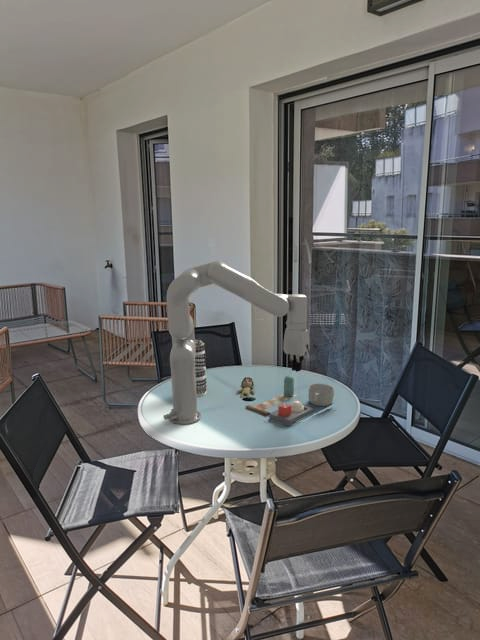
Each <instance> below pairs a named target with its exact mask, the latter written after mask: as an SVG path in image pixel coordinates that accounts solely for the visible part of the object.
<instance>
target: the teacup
mask: <svg viewBox="0 0 480 640" xmlns="http://www.w3.org/2000/svg"><path fill="white" fill-rule="evenodd" d="M334 396H335V388H334V386H332V385H329V384H326V383H311V384H309V385H308V401H309V402H310V404H312V405H315V406H316V407H317V406H318V407H327V406H330V405H331V404H332V403H333V400H334Z"/></svg>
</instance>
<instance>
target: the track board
mask: <svg viewBox="0 0 480 640" xmlns="http://www.w3.org/2000/svg"><path fill="white" fill-rule="evenodd" d="M296 396H298V394H294V396H293V397H286V396H284V393H283V394H281V395H279V396H275V397H273V398H271V399H268V400H266V401H264V402H262V403H259V404H257V405H253V406H252V405H250V404H247V405H245V409H248V410H250V411H253V412H255V413H258V414H260V415H264V416H269V413H271V412H270V411H266V410H268V409H270V408H271V407H274V406H276V405H278V404H279V405H280V403H283V402H285V401H287V400H289V399H292V398H294V397H296Z"/></svg>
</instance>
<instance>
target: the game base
mask: <svg viewBox="0 0 480 640" xmlns="http://www.w3.org/2000/svg"><path fill="white" fill-rule="evenodd" d="M290 404H291V403H289V404H287V403H282V404H281V403H280V404H279V405H278V406H277V407H278V409H277V410H274V411H272V412H270V413H269V415H268V416H269V420H271V421H272V422H276V423H279V424H280V425H284V426H286V427H291V426H293V425H296V424H297V423H298V422H301V421H303V420H305V419H307V418H309V417H311V416H313V415H314V411H315V410H314V407H310V406H307V405H304V404H302V405H303V406H304V411H302V412H300V413H295V412H292V411H291V405H290ZM297 420H298V421H297Z"/></svg>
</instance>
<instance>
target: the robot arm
mask: <svg viewBox="0 0 480 640" xmlns="http://www.w3.org/2000/svg"><path fill="white" fill-rule="evenodd" d="M213 284H214V285H215V286H217V287H219V288H222V289H223V290H225V291H226V292H229V293H231V294H233V295H235V296H237V297H239V298H241V299H242V300H244V301H246V302H248V303H249V304H250V305H253V306H255V307H256V308H259V309H260V310H263V311H264V312H266V313H268V314H270V315H272V316H275V317H280V318H281V317H284V316H286V315H287V320H286V321H285V324H286V326H287V327H286V328H285V331H284V337H283V352H284V354H285V355H287V356H288V357H289V359H290V362H291V371H295V372H297V373H299V372H300V371H302V369H303V367H302V365H303V364H302V363H303V361H304V360H306V359H309V358H310V335H309V334H310V333H309V330H308V328H307V326H308V323H307V322H308V321H307V320H308V297H307V295H305V294H302V293H301V294H300V293H292V294H284V293H274V292H272V291H270V290H268V289H266V288H265V287H263V286H262V285H260V283H258V282H257V281H256V280H254V279H253V278H252V277H250V276H248V275H246V274H244V273H242V272H240V271H238V270H236V269H234V268H232V267H230V266H228V265H227V264H226V263H225V262H223V261H221V260H216V261H212V262H209V263H206V264H202V265H198V266H194V267H190V268H187V269H185V270H184V271H182V273H181V274H179V275H178V276H177V277H176V278H174V279H173V280H172V281H171V283H170V284H169V286H168V289H167V291H166V308H167V309H166V313H167V323H168V325H167V326H168V327H167V328H168V332H169V335H170V336H171V342H172V343H171V345H172V347H171V350H170V354H169V364H170V365H169V366H170V377H171V391H172V392H171V393H172V394H171V395H172V409H170V412H169V413H166V414H164V415H163V420H164V421H166V420H169V421H170V422H172V423H174V424H178V425H189V424H193V423H196V422H198V421H199V420H200V419H201V418H202V414H201V412H199V410H198V404H197V402H198V400H197V396H196V376H195V351H196V344H195V340H196V337H195V336H196V335H195V325H194V324H195V323H194V319H193V317H192V315H191V313H190V312H191V311H190V299H189V298H190V297H191V294H193V293H195V292H196V291H199V289H200V288H203V287H207V286H210V285H213Z"/></svg>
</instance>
